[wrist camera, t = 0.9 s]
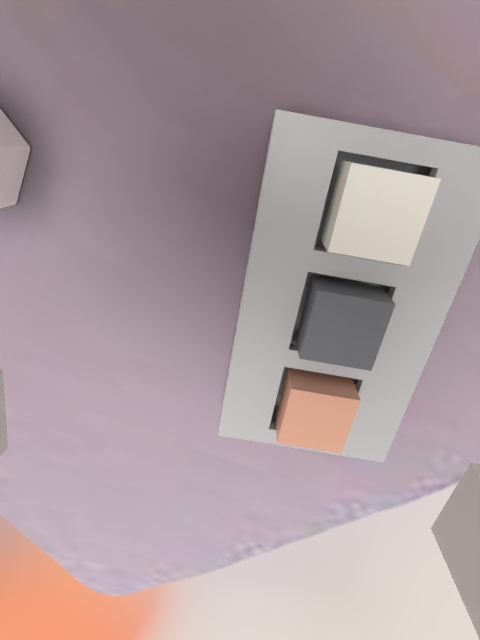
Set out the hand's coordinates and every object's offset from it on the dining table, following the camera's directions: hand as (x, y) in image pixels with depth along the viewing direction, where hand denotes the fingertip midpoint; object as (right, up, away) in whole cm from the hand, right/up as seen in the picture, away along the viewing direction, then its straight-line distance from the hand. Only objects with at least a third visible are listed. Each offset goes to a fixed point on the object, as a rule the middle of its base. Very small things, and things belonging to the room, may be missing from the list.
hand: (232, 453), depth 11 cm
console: (+7, +6, +21) cm, 23 cm away
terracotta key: (+6, -2, +20) cm, 21 cm away
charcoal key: (+7, +4, +16) cm, 18 cm away
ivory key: (+8, +11, +13) cm, 19 cm away
